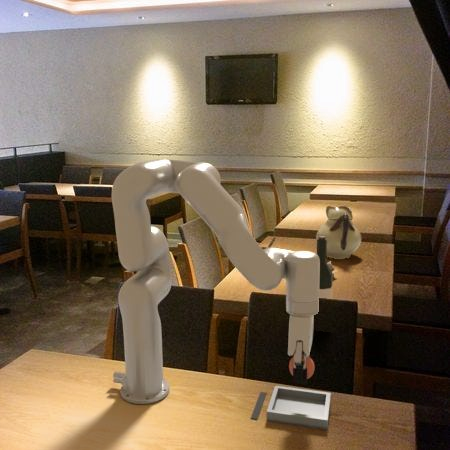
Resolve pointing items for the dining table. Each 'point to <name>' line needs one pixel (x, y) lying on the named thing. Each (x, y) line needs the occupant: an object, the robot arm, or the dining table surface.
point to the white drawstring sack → (340, 233)
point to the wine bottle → (324, 270)
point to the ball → (309, 366)
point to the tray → (299, 407)
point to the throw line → (258, 405)
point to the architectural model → (331, 268)
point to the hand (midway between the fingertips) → (301, 375)
